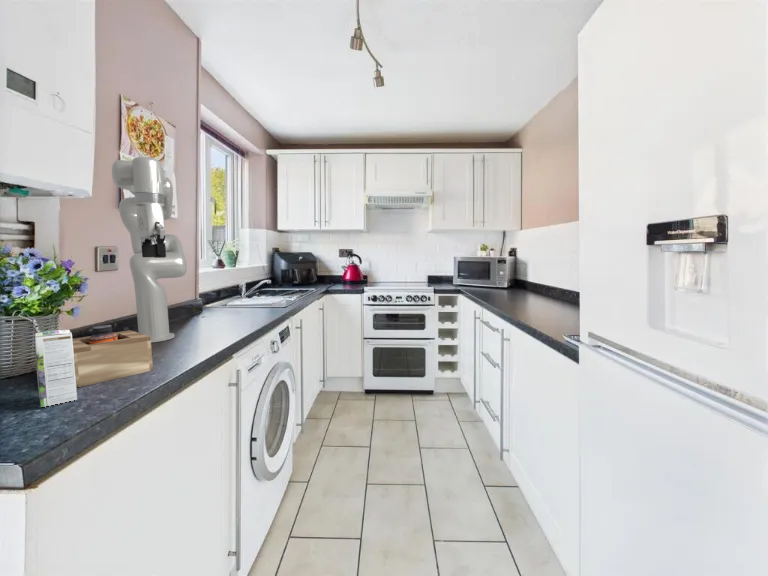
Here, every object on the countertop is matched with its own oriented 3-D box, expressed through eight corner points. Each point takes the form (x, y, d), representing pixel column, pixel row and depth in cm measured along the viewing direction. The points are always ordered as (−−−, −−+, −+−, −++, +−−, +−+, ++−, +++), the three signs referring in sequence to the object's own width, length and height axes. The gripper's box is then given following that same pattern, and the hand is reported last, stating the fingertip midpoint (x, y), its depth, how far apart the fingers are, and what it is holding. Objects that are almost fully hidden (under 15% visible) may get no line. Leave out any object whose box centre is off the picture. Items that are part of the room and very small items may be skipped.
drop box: (60, 375, 94) (57, 341, 94) (133, 361, 107) (130, 330, 106) (75, 388, 85) (71, 349, 84) (153, 370, 97) (150, 336, 96)
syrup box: (39, 401, 77) (32, 332, 76) (76, 393, 82) (69, 328, 80) (40, 409, 73) (33, 336, 72) (79, 400, 77) (72, 331, 76)
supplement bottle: (114, 364, 100) (109, 323, 99) (125, 367, 97) (121, 324, 96) (88, 371, 95) (82, 327, 94) (99, 374, 92) (94, 329, 91)
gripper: (126, 202, 115) (130, 257, 117) (145, 196, 104) (150, 258, 106) (153, 204, 121) (157, 256, 123) (174, 199, 110) (178, 257, 111)
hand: (154, 257), depth 114 cm, fingers open, 9 cm apart
